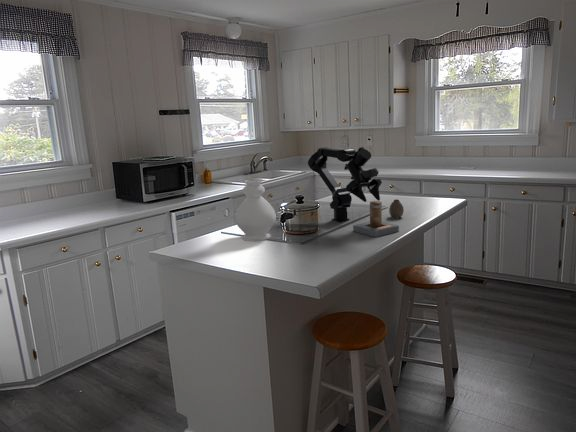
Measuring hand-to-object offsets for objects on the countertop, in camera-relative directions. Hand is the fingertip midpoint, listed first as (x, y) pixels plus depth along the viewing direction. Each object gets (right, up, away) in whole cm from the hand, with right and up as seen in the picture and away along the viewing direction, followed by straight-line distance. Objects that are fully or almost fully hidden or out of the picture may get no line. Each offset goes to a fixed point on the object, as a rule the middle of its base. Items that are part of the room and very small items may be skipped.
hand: (372, 200), depth 206 cm
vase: (+16, -8, +23) cm, 29 cm away
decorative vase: (-51, -16, -3) cm, 54 cm away
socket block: (+1, -13, -1) cm, 13 cm away
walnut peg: (+1, -13, -1) cm, 13 cm away
